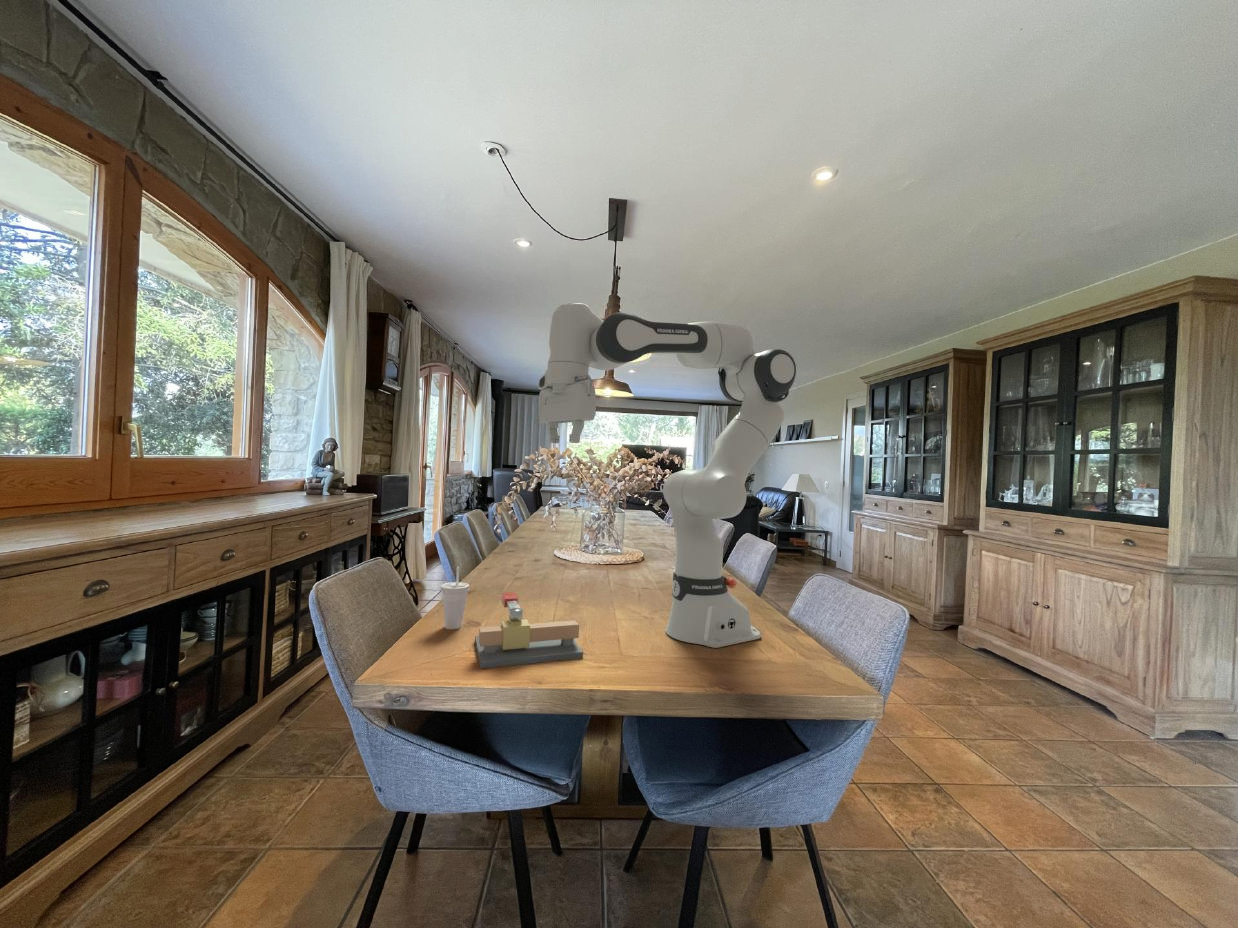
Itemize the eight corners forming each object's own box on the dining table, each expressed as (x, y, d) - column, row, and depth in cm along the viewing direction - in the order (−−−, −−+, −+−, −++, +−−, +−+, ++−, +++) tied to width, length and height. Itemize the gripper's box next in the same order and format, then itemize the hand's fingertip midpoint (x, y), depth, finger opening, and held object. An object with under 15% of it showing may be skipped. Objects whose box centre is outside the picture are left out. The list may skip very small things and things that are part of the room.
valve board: (565, 634, 113) (566, 603, 113) (582, 657, 100) (584, 623, 100) (474, 641, 105) (476, 609, 105) (480, 668, 92) (482, 631, 92)
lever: (523, 620, 99) (524, 609, 99) (509, 621, 98) (510, 610, 98) (513, 601, 111) (514, 592, 111) (501, 602, 110) (501, 592, 110)
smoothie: (458, 632, 111) (461, 570, 111) (433, 629, 112) (435, 568, 112) (472, 623, 117) (475, 565, 117) (448, 620, 118) (450, 562, 118)
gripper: (605, 375, 99) (601, 444, 99) (559, 386, 116) (556, 444, 116) (578, 370, 96) (574, 441, 96) (534, 382, 113) (531, 442, 113)
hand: (563, 443), depth 106 cm, fingers open, 8 cm apart
